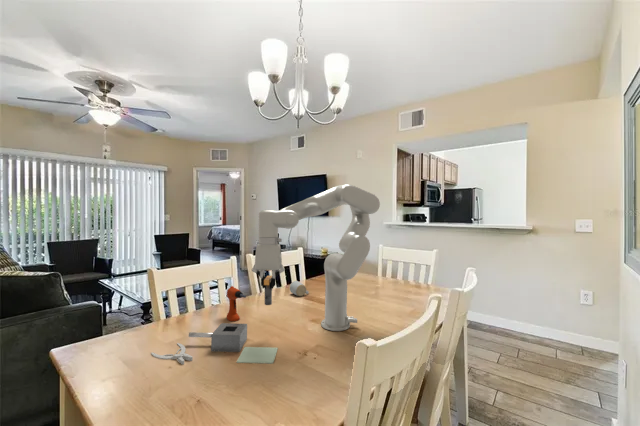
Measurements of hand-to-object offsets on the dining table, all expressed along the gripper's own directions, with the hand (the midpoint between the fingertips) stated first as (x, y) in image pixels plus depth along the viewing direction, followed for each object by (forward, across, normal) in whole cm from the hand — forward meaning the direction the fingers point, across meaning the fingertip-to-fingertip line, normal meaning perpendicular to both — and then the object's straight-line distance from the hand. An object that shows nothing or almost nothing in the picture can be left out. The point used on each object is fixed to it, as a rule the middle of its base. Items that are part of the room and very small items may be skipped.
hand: (268, 287), depth 114 cm
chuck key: (+7, 0, 0) cm, 7 cm away
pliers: (+20, +28, +16) cm, 38 cm away
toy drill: (+20, +17, -14) cm, 29 cm away
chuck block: (+19, +18, +8) cm, 27 cm away
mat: (+19, +1, +15) cm, 25 cm away
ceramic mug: (+20, -8, -56) cm, 61 cm away
